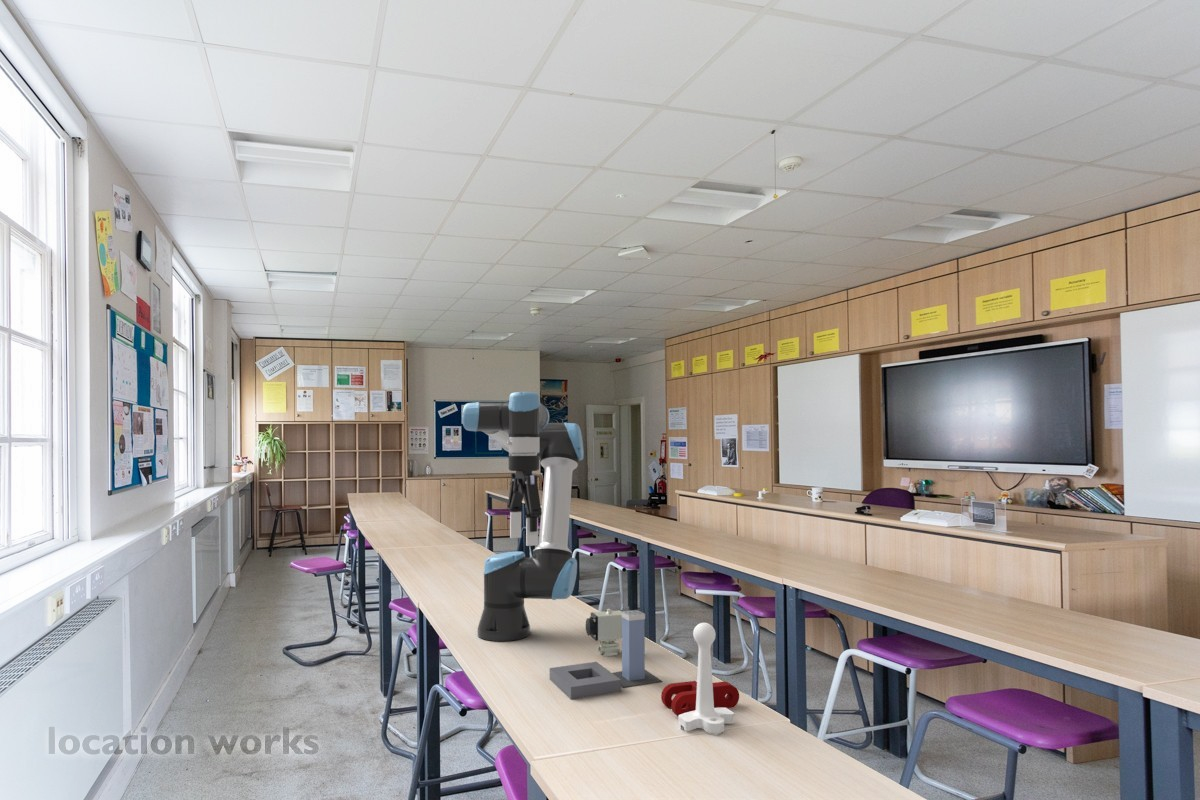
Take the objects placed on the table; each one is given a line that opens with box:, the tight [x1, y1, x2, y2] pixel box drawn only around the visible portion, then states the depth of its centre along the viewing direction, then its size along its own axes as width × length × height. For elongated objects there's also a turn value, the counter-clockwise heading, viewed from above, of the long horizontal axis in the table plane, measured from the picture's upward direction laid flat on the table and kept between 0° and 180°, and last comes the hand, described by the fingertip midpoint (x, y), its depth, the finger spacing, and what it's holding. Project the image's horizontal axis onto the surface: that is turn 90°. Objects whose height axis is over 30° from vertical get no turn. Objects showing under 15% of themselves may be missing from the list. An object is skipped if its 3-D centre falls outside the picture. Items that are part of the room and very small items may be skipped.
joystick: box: [677, 622, 735, 735], centre depth 141 cm, size 11×8×20 cm
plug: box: [621, 609, 646, 681], centre depth 169 cm, size 4×4×15 cm
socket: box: [549, 661, 622, 700], centre depth 164 cm, size 14×12×3 cm
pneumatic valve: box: [585, 608, 624, 657], centre depth 188 cm, size 6×12×12 cm, turn 107°
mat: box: [612, 669, 663, 689], centre depth 169 cm, size 10×10×1 cm
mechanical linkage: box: [660, 680, 740, 718], centre depth 151 cm, size 16×7×5 cm, turn 108°
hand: (523, 541), depth 175 cm, fingers open, 13 cm apart
